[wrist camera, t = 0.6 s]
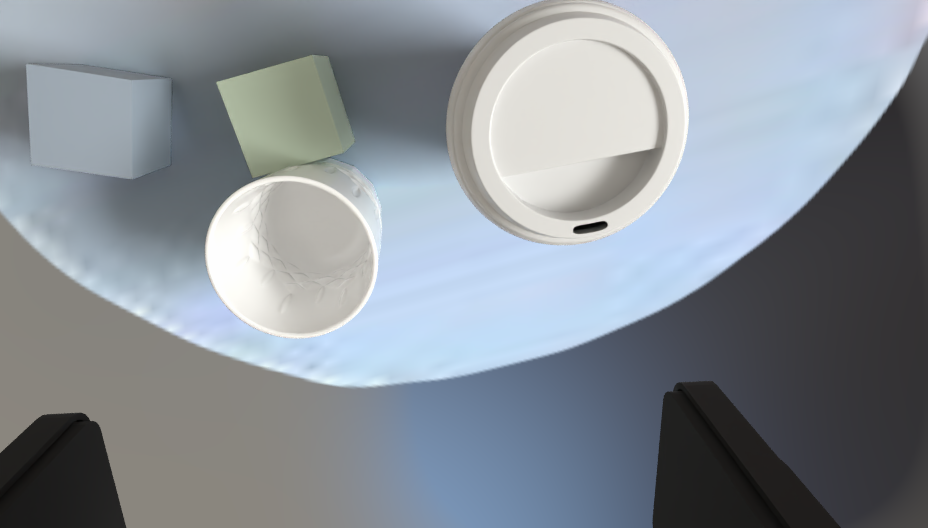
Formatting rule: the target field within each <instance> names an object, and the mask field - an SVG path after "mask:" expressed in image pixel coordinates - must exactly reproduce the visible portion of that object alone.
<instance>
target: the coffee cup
mask: <svg viewBox="0 0 928 528" xmlns="http://www.w3.org/2000/svg"><path fill="white" fill-rule="evenodd" d="M688 123H689V108H688V98H687V92H686V87H685V83H684V80H683V77H682V74H681V71H680V69H679V66H678V64H677V62H676V60H675V58H674V56H673V55H672V53H671V51H670V50H669V48H668V47H667V46H666V44H665V43H664V42H663V40H662V39H661V38H660V37H659V36H658V35H657V34H656V32H655V31H654V30H652V29H651V28H650V27H649V26H648V25H647V24H646V23H645V22H643V21H642V20H641V19H639V18H638V17H637V16H635V15H634V14H632V13H630V12H628V11H627V10H625V9H623V8H621V7H618V6H616V5H613V4H611V3H608V2H604V1H601V0H545V1H541V2H538V3H535V4H532V5H529V6H527V7H524V8H522V9H520V10H518V11H516V12H514V13H513V14H511V15H509V16H508V17H506V18H505V19H503V20H502V21H500V22H499V23H498V24H496V25H495V26H494V27H493V28H492V29H490V30H489V31H488V32H487V33H486V34H485V35H484V36H483V37H482V38H481V39H480V40H479V42H478V43H477V44H476V45H475V46H474V48H473V49H472V50H471V52H470V53H469V55H468V56H467V58H466V59H465V61H464V63H463V65H462V66H461V68H460V70H459V72H458V75H457V77H456V79H455V82H454V85H453V88H452V91H451V94H450V98H449V103H448V109H447V117H446V138H447V147H448V152H449V157H450V161H451V164H452V167H453V170H454V173H455V175H456V178H457V180H458V182H459V184H460V186H461V188H462V189H463V191H464V193H465V194H466V196H467V197H468V199H469V200H470V201H471V202H472V204H473V205H474V206H475V207H476V208H477V209H478V210H479V212H480V213H481V214H483V215H484V216H485V217H486V218H487V219H488V220H489V221H491V222H492V223H493V224H495V225H496V226H498V227H499V228H501V229H503V230H504V231H506V232H508V233H510V234H512V235H514V236H517V237H519V238H522V239H525V240H528V241H532V242H537V243H542V244H550V245H575V244H582V243H587V242H592V241H595V240H599V239H602V238H604V237H607V236H609V235H612V234H614V233H616V232H618V231H620V230H622V229H623V228H625V227H627V226H628V225H630V224H631V223H633V222H634V221H636V220H637V219H638V218H639V217H641V216H642V215H643V214H644V213H645V212H646V211H648V210H649V209H650V208H651V207H652V206H653V205H654V203H655V202H656V201H657V200H658V199H659V198H660V196H661V195H662V194H663V192H664V191H665V190H666V188H667V187H668V185H669V184H670V182H671V180H672V178H673V177H674V175H675V173H676V171H677V168H678V166H679V164H680V161H681V158H682V155H683V152H684V148H685V144H686V139H687V133H688Z"/></svg>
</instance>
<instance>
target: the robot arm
mask: <svg viewBox="0 0 928 528" xmlns="http://www.w3.org/2000/svg"><path fill="white" fill-rule="evenodd" d="M0 528H126V525H125V522H124V518H123V513H122V510H121V506H120V502H119V498H118V494H117V491H116V486H115V483H114V479H113V475H112V471H111V467H110V463H109V460H108V456H107V452H106V448H105V444H104V441H103V436H102V433H101V429H100V427H99V425H98V424H97V423H96V422H94V421H90V420H89V418H88V417H87V416H86V415H85V414H83V413H67V414H47V415H42V416H41V417H39V418H38V419H37V420H35V421H34V422H33V423H32V424H31V425H30V426H29V427H28V428H27V429H26V430H25V431H24V432H23V433H21V434H20V435H19V436H18V437H17V438H16V439H15V440H14V441H13V442H12V443H11V444H10V445H9V446H7V447H6V448H5V449H4V450H3V451H2V452H1V453H0ZM653 528H840V526H839V525H838V524H837V523H836V522H835V520H834V519H833V518H832V517H831V516H830V515H829V513H828V512H827V511H826V510H825V509H824V508H823V506H822V505H821V504H820V503H819V502H818V501H817V499H816V498H815V497H814V496H813V495H812V494H811V492H810V491H809V490H808V489H807V488H806V487H805V485H804V484H803V483H802V482H801V481H800V479H799V478H798V477H797V476H796V475H795V474H794V473H793V471H792V470H791V469H790V468H789V467H788V466H787V465H786V464H785V463H784V462H783V461H782V460H780V459H779V458H778V457H777V455H776V454H775V453H774V452H773V451H772V450H771V448H770V447H769V446H768V445H767V444H766V442H765V441H764V440H763V439H762V438H761V437H760V435H759V434H758V433H757V432H756V431H755V429H754V428H753V427H752V426H751V425H750V424H749V422H748V421H747V420H746V419H745V418H744V417H743V415H742V414H741V413H740V412H739V411H738V410H737V408H736V407H735V406H734V405H733V404H732V403H731V401H730V400H729V399H728V398H727V397H726V395H725V394H724V393H723V392H722V391H721V390H720V389H719V387H718V386H717V385H716V384H715V383H714V382H713V381H699V382H679V383H677V384H676V385H675V387H674V390H673V392H666V393H665V395H664V399H663V409H662V420H661V431H660V443H659V454H658V465H657V477H656V488H655V499H654V510H653Z"/></svg>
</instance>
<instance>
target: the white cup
mask: <svg viewBox="0 0 928 528" xmlns="http://www.w3.org/2000/svg"><path fill="white" fill-rule="evenodd" d="M381 210H382V207H381V204H380V202H379V199H378V196H377V194H376V191H375V188H374V186H373V184H372V183H371V182H370V181H369V180H368V179H367V178H366V177H365V176H364V175H363V174H362V173H361V172H360V171H359V170H358V169H357V168H356V167H354V166H352V165H349V164H346V163H343V162H341V161H338V160H335V159H332V158H324V159H320V160H316V161H313V162H309V163H306V164H302V165H298V166H289V167H285V168H282V169H279V170H277V171H275V172H273V173H271V174H269V175H267V176H265V177H262V178H260V179H258V180H256V181H254V182H251V183H249V184H247V185H245V186H243V187H242V188H240V189H238V190H237V191H236V192H234V193H233V194H232V195H231V196H229V197H228V198H227V199H226V200H225V201H224V202H223V204H222V205H221V206H220V207H219V209H218V210H217V212H216V213H215V215H214V217H213V219H212V221H211V223H210V226H209V229H208V232H207V236H206V242H205V261H206V267H207V271H208V275H209V278H210V281H211V283H212V285H213V287H214V289H215V291H216V293H217V295H218V296H219V298H220V299H221V300H222V302H223V303H224V304H225V305H226V307H227V308H228V309H229V310H230V311H231V312H232V313H233V314H234V315H236V316H237V317H238V318H239V319H241V320H242V321H243V322H245V323H246V324H248V325H250V326H251V327H253V328H255V329H257V330H260V331H262V332H265V333H267V334H271V335H274V336H279V337H284V338H310V337H316V336H320V335H323V334H326V333H329V332H331V331H334V330H336V329H338V328H339V327H341V326H343V325H344V324H346V323H347V322H349V321H350V320H351V319H352V318H353V317H354V316H356V315H357V313H358V312H359V311H360V310H361V309H362V308H363V306H364V305H365V303H366V302H367V300H368V299H369V297H370V295H371V292H372V290H373V287H374V284H375V281H376V276H377V269H378V262H379V254H380V248H381V234H382V222H381Z"/></svg>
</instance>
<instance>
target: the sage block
mask: <svg viewBox="0 0 928 528" xmlns="http://www.w3.org/2000/svg"><path fill="white" fill-rule="evenodd" d="M216 83H217V86H218V88H219V91H220V94H221V96H222V99H223V101H224V104H225V107H226V109H227V112H228V115H229V117H230V120H231V123H232V125H233V128H234V130H235V133H236V136H237V138H238V141H239V144H240V146H241V149H242V152H243V154H244V157H245V159H246V162H247V165H248V167H249V170H250V173H251V175H252V178H255V177H259V176H262V175H266V174H270V173H273V172H275V171H277V170H279V169H282V168H285V167H289V166H298V165H302V164H306V163H309V162H313V161H316V160H320V159H324V158H327V157H331V156H334V155H338V154H341V153H344V152H345V151H346V150H347V149H348V148H349V147H350V146H352V145H353V144H354V143H355V139H354V136H353V133H352V130H351V127H350V124H349V120H348V117H347V114H346V111H345V108H344V105H343V102H342V98H341V95H340V92H339V89H338V86H337V83H336V80H335V77H334V73H333V70H332V67H331V64H330V61H329V58H328V56H319V55H310V56H306V57H303V58H299V59H296V60H292V61H289V62H285V63H282V64H278V65H275V66H271V67H268V68H264V69H261V70H257V71H254V72H250V73H247V74H243V75H240V76H236V77H233V78H229V79H225V80H222V81H218V82H216Z"/></svg>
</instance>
